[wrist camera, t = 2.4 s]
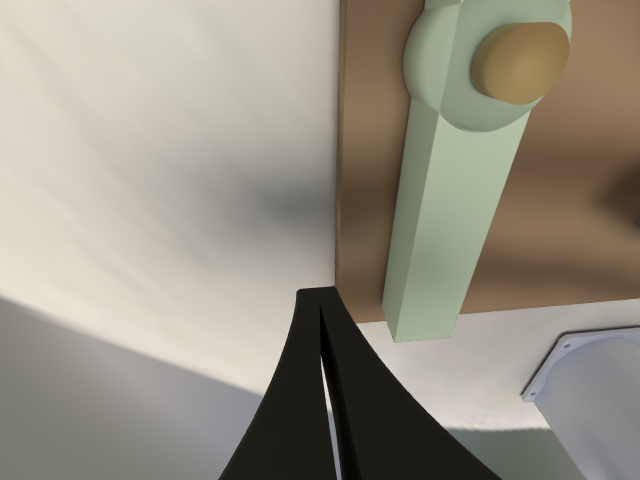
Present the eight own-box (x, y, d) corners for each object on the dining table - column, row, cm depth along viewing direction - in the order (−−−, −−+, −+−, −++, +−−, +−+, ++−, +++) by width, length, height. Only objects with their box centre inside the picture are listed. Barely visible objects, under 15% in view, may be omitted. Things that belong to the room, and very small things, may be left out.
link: (412, -18, 10) (447, -31, 7) (533, -19, 10) (599, -32, 8) (373, 307, 18) (384, 343, 16) (439, 301, 18) (459, 336, 16)
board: (619, 282, 21) (711, 352, 17) (334, 306, 20) (349, 390, 15) (885, -86, 11) (1309, -168, 7) (341, -93, 10) (395, -205, 5)
